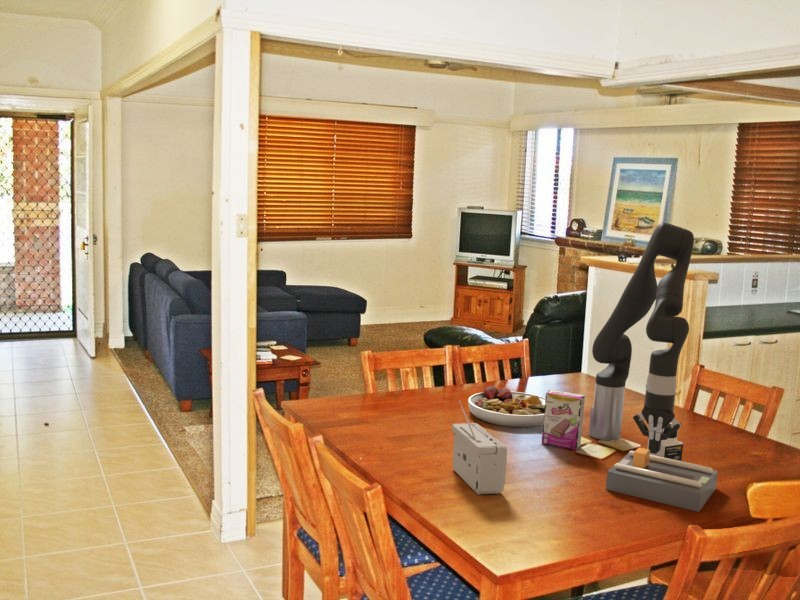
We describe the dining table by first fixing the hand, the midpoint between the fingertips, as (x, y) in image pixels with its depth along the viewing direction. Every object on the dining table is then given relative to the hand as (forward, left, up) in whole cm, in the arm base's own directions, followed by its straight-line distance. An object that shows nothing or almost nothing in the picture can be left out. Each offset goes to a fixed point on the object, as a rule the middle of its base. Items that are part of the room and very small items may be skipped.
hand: (653, 452), depth 229 cm
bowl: (-57, +36, -10) cm, 68 cm away
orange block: (-3, 0, -5) cm, 6 cm away
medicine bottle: (-2, +21, -10) cm, 23 cm away
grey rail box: (+3, 0, -10) cm, 10 cm away
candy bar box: (-32, +17, -10) cm, 38 cm away
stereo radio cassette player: (-39, -27, -10) cm, 49 cm away
